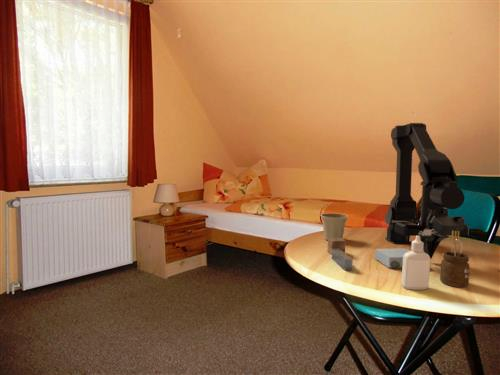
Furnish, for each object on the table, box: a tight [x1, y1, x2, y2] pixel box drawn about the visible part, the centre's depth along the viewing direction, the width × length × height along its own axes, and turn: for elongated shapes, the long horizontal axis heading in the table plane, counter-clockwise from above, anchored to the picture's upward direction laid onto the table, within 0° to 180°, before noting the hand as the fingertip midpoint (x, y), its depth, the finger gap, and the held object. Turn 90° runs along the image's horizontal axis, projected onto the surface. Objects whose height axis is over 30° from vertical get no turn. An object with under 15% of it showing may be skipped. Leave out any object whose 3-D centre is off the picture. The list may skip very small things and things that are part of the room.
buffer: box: [331, 249, 354, 271], centre depth 96 cm, size 2×10×3 cm, turn 6°
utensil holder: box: [439, 231, 471, 288], centre depth 83 cm, size 6×6×12 cm
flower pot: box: [320, 212, 349, 241], centre depth 123 cm, size 9×9×9 cm
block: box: [327, 238, 346, 256], centre depth 106 cm, size 4×4×4 cm
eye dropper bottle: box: [401, 235, 431, 291], centre depth 80 cm, size 4×6×12 cm
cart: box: [374, 248, 410, 270], centre depth 97 cm, size 9×10×3 cm
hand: (429, 258), depth 98 cm, fingers closed
